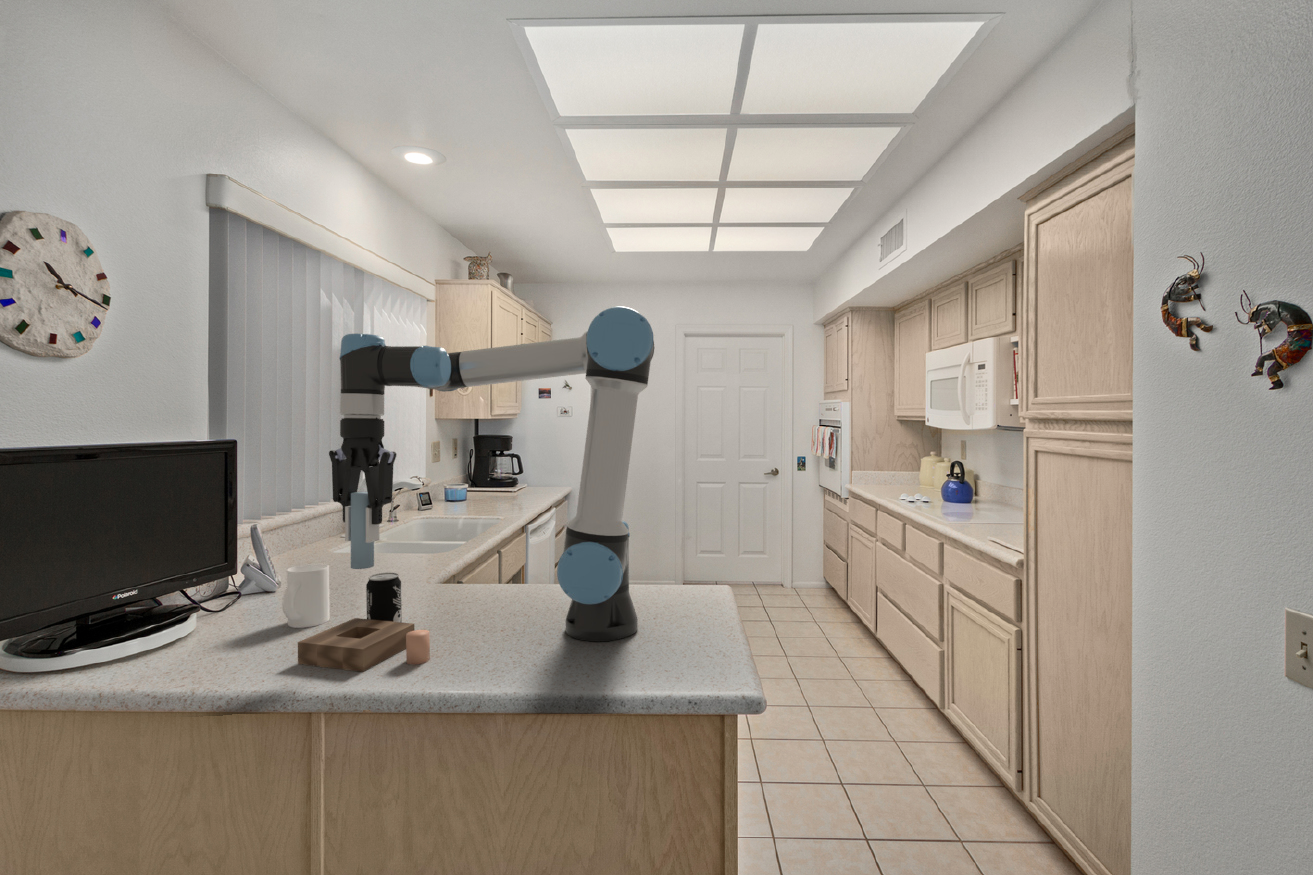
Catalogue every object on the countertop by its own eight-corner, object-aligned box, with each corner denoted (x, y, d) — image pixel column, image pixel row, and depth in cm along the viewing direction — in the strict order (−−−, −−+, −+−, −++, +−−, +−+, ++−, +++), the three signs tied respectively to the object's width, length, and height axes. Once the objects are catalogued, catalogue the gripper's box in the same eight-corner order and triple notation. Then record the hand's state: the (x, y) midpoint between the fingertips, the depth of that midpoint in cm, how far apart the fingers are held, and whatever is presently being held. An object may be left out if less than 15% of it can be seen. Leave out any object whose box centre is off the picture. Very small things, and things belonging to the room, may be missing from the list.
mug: (265, 634, 125) (264, 576, 124) (301, 615, 137) (300, 563, 136) (304, 634, 124) (303, 576, 124) (337, 616, 136) (336, 563, 136)
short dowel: (434, 657, 112) (434, 630, 112) (420, 665, 108) (420, 638, 108) (415, 655, 113) (415, 628, 113) (401, 663, 109) (401, 636, 109)
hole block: (414, 643, 119) (414, 623, 119) (363, 671, 105) (362, 649, 105) (355, 637, 123) (354, 618, 122) (297, 664, 109) (297, 642, 109)
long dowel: (378, 565, 116) (379, 492, 115) (363, 569, 112) (363, 494, 112) (361, 563, 117) (361, 491, 116) (345, 568, 113) (345, 493, 113)
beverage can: (388, 639, 121) (387, 580, 121) (359, 637, 122) (358, 579, 122) (408, 629, 128) (407, 572, 127) (380, 627, 129) (379, 571, 129)
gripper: (414, 418, 115) (413, 539, 115) (340, 417, 120) (340, 534, 120) (386, 417, 108) (386, 547, 108) (309, 416, 112) (309, 541, 113)
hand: (362, 540), depth 114 cm, fingers closed on long dowel, 4 cm apart
